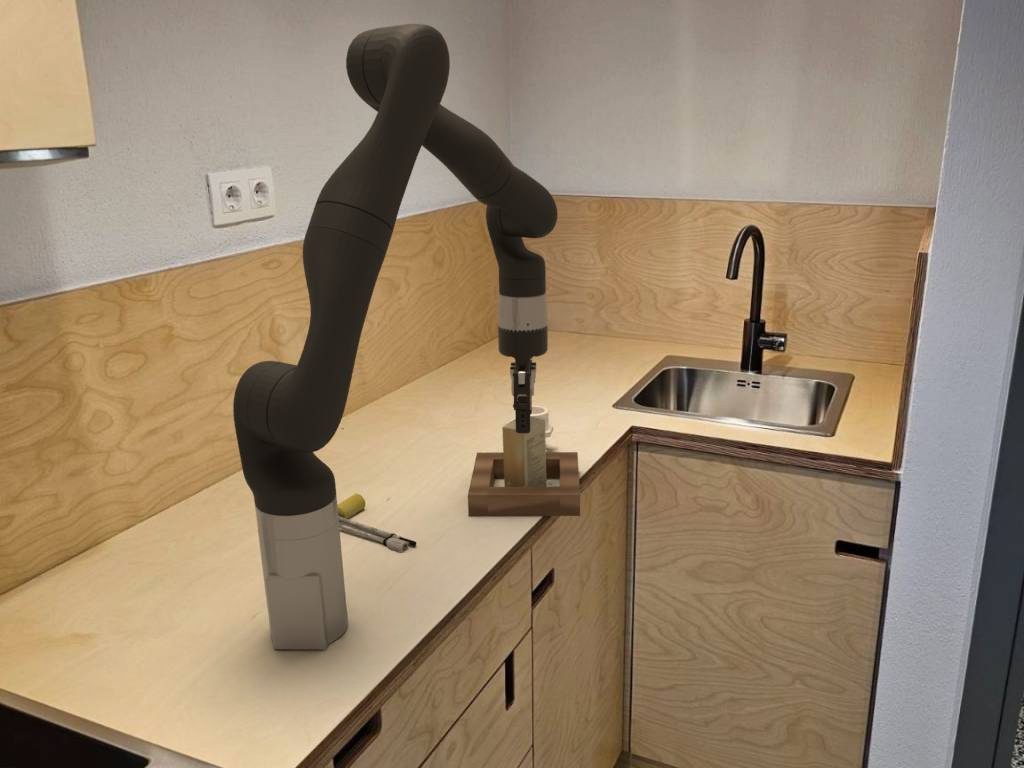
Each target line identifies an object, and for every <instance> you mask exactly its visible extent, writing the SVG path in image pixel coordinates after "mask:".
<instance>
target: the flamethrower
mask: <svg viewBox="0 0 1024 768" xmlns="http://www.w3.org/2000/svg"><path fill="white" fill-rule="evenodd" d="M337 506H338V517H339V518H338V519H339V530H343V531H347V532H350V533H352V534H355V535H359V536H362V537H364V538H368V539H371V540H373V541H377V542H379V543H382V544H383V545H384V546H386V547H387V548H388V549H390V550H392V551H395V552H399V553H404V552H405V551H404V550H408V549H409V546H412V547H417V541H414V540H412V539H409V538H405V537H403V536H400V535H398V534H397V533H394V532H393V533H391V532H388V531H385V530H381V529H379V528H377V527H376V528H375V527H373V526H370V525H367V524H364V523H361V522H358V521H355V520H351V519H349V518H351V517H353V516H355V515H356V514H357V513H359V512H361V511H362V510H365V508H366V500H365V498H364V497H363V495H361V494H359V493H354V494H353V495H351V496H349V497H348V498H346V499H344V500H343V501H341V502H339V503H337Z"/></svg>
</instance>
